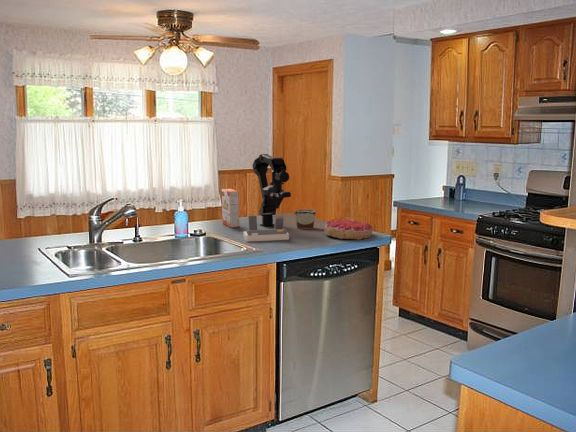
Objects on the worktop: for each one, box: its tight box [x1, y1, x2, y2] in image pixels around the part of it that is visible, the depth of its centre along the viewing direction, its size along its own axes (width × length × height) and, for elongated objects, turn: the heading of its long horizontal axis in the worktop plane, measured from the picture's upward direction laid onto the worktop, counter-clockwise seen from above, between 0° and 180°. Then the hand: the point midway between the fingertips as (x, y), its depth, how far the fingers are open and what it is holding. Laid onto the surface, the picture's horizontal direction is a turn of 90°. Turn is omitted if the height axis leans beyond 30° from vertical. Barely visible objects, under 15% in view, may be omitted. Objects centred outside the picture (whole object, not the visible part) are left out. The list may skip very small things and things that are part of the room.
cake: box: [324, 218, 374, 240], centre depth 288 cm, size 25×25×8 cm
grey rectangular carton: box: [273, 215, 284, 229], centre depth 280 cm, size 2×4×8 cm, turn 102°
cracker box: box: [221, 188, 240, 229], centre depth 315 cm, size 14×6×21 cm, turn 25°
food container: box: [294, 209, 317, 230], centre depth 310 cm, size 12×6×10 cm, turn 84°
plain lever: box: [248, 215, 258, 230], centre depth 281 cm, size 2×4×8 cm, turn 101°
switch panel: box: [242, 227, 290, 242], centre depth 281 cm, size 11×22×6 cm, turn 102°
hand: (277, 208), depth 302 cm, fingers closed
